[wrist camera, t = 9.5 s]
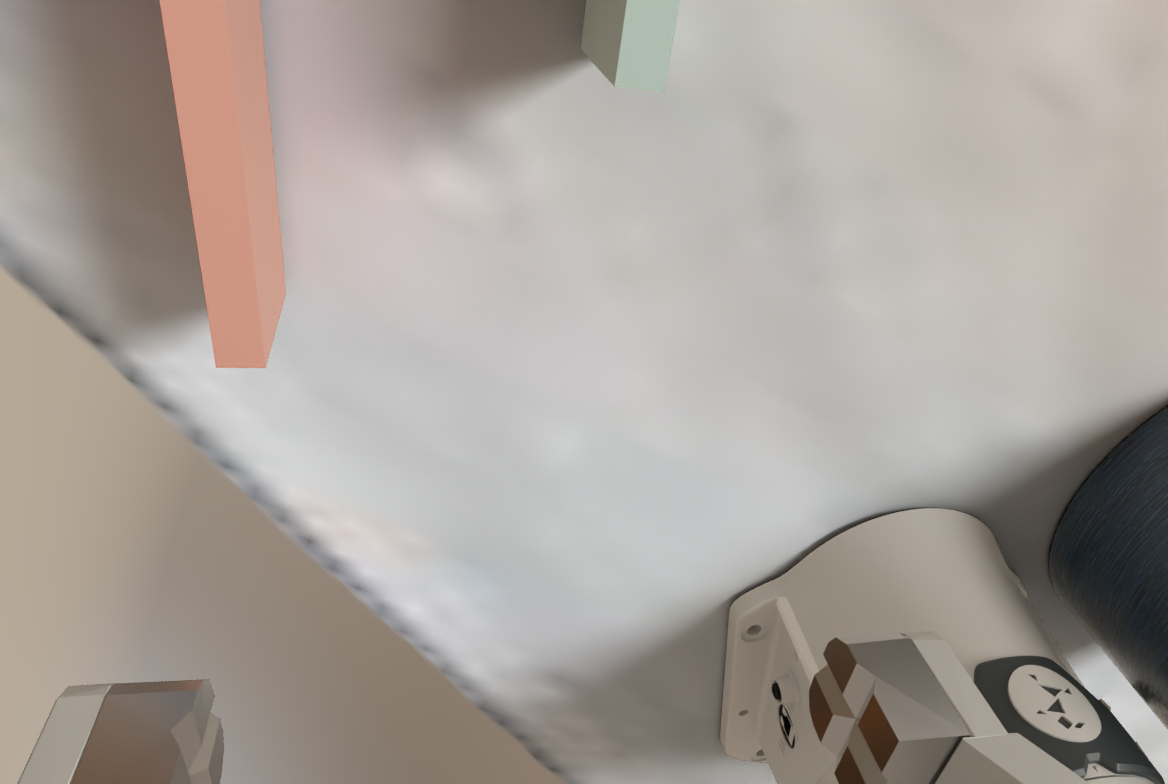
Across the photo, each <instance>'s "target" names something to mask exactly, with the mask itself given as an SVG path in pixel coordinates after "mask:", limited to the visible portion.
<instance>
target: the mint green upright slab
mask: <svg viewBox="0 0 1168 784" xmlns="http://www.w3.org/2000/svg"><path fill="white" fill-rule="evenodd" d="M679 5H680V0H586V8H585V16H584V24H583V33H582V41H581V50H582V51H583V52H584V53H585V54H586V56H587V57H588V58H589V59H590V60H591V61H592V62H593V63H594V64H595V66H596V67H597V68H598V69H599V70H600V71H601V72H602V73H603V74H604V76H605V77H606V78H607V79H608V80H609V81H610V82H611V83H612V84H613V86H614V87H622V88H633V89H643V90H654V91H664V89H665V83H666V78H667V72H668V67H669V61H670V55H671V50H672V44H673V38H674V33H675V27H676V22H677V16H678V10H679Z"/></svg>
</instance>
